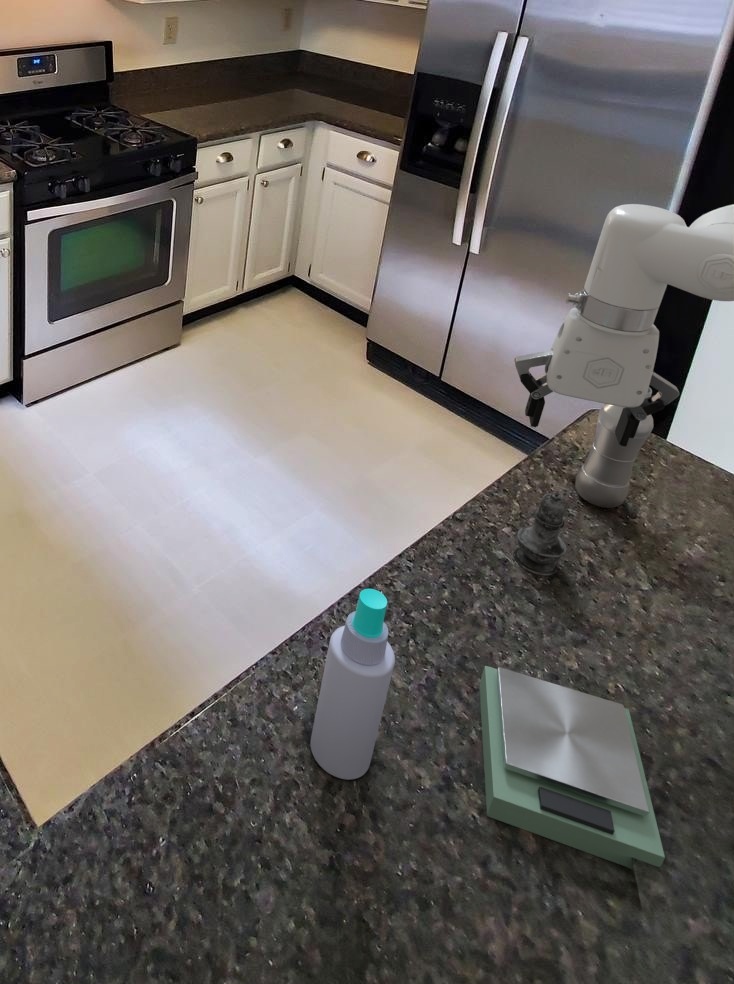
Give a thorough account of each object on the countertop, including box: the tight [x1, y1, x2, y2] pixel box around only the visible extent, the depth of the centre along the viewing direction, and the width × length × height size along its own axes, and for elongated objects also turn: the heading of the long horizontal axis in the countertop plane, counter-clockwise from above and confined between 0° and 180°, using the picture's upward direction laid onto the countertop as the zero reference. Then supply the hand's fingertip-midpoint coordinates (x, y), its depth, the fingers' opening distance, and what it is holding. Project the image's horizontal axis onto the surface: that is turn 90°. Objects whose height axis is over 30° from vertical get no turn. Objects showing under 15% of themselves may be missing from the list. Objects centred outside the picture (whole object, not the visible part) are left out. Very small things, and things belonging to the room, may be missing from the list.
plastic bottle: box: [574, 386, 654, 509], centre depth 116 cm, size 6×7×20 cm
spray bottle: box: [310, 588, 396, 781], centre depth 79 cm, size 6×6×22 cm
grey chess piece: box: [513, 490, 568, 577], centre depth 106 cm, size 6×6×12 cm
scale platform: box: [496, 666, 649, 817], centre depth 81 cm, size 12×12×1 cm
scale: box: [478, 665, 666, 870], centre depth 81 cm, size 14×16×4 cm
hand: (575, 430), depth 100 cm, fingers open, 9 cm apart
